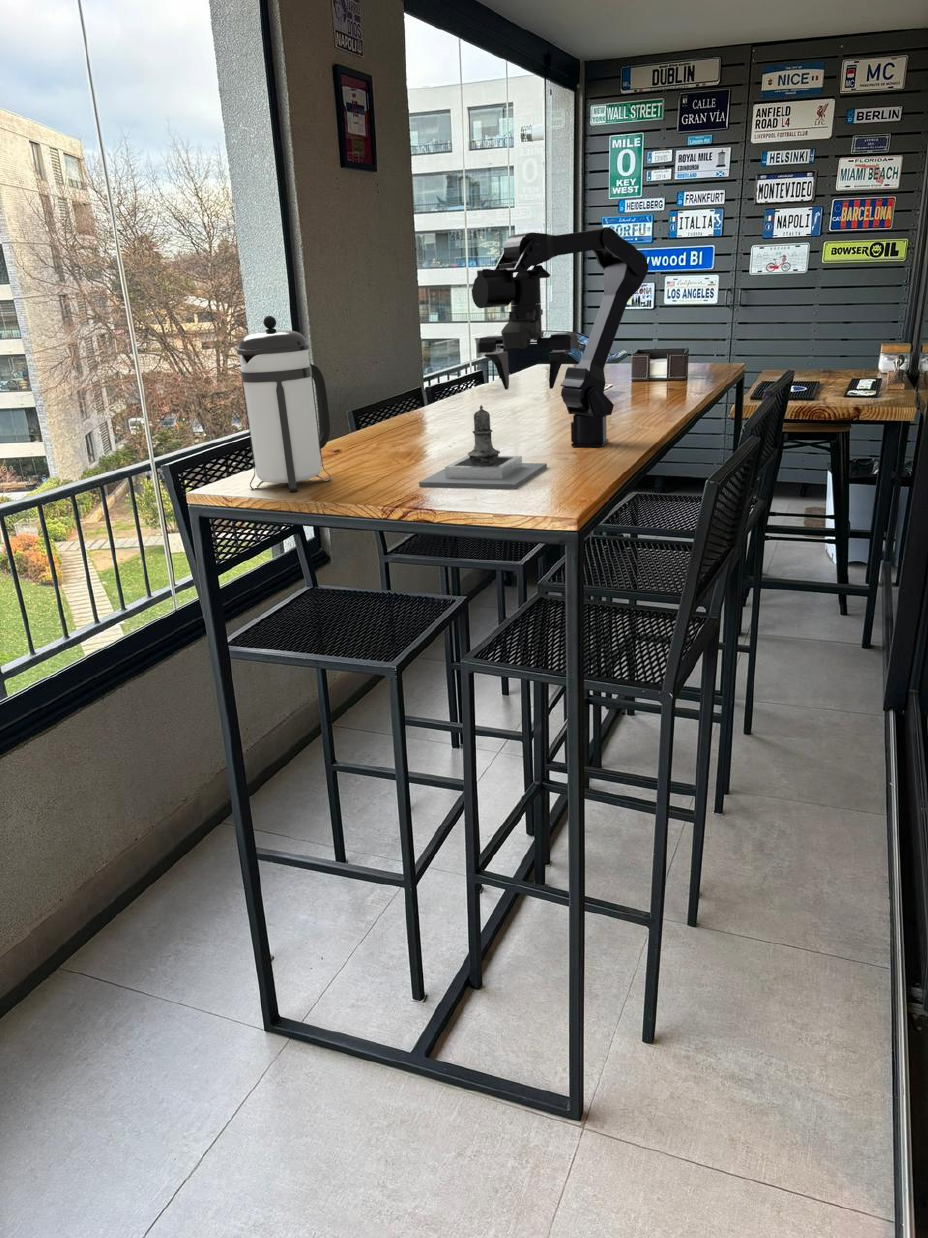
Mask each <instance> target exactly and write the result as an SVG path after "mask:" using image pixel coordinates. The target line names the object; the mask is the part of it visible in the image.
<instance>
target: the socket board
mask: <svg viewBox="0 0 928 1238" xmlns="http://www.w3.org/2000/svg"><path fill="white" fill-rule="evenodd" d="M547 467H548V465H547V463H546V462H545V463H542V462H541V463H540V462H537V463H535V462H522V467H521V468H520V469H518V470H517V471H515V472H513V473H512V474H510V475H509V476H507V477H505V478H504V479H461V478H445V468H444V469H441V470H439V471H438V472H436V473H434V474H432V475H430V476H428V477H426V478H424V479H422V480H420V481H418V486H419V487H421V488H422V487H425V488H427V487H428V488H429V487H431V488H458V489H459V488H464V489H466V488H467V489H495V490H497V489H499V490H500V489H502V490H505V489H506V490H516V489H517V488H519V487H521V486H522V485H524V484H525V483H526V482H528V481H530V480H531V479H532V478H534V477H535V476H537V475H538V474H540V473H541V472H543V471H544V470H546V469H547Z"/></svg>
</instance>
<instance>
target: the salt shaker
mask: <svg viewBox="0 0 928 1238" xmlns="http://www.w3.org/2000/svg"><path fill="white" fill-rule="evenodd" d="M490 415H491V414H490V413H489V411H487V410H485V409H484V407H483V405H482V404H481V405H480V406H479V410H477V411H475V412H474V414H473V429H474V430H472V434H474V437H473V438H474V447H473V449H472V450H471V451H469V452H468V453H467V456H469V457H470V461H471V463H472V464H473V465H474V466H493V465H495V463H496V462H497V460H498V456H499V454H500V453H501V451H500V450H499V449H496V448H494V446H493V442H492V432H493V429H491V416H490Z"/></svg>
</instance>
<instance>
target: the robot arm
mask: <svg viewBox="0 0 928 1238" xmlns="http://www.w3.org/2000/svg"><path fill="white" fill-rule="evenodd" d="M588 251H590V252H591V251H592V253H594V256H595V258H596V259H595V260H596V261H597V264H598V265H599V267H601V268H602V270H604V271H603V276H602V282H603V291H604V295H603V298H602V299H601V303H600V306H599V308H598V309H599V310H598V311H597V315H596V317H595V320H594V322H593V325H592V328H591V330H590V334H589V337H588V340H587V342H586V346H585V348H584V351H583V354H582V357H581V360H580V361H579V363H578V364H577V365H575V367H574V366H568V367H567V368H566V370H565V374H564V378H563V381H562V382H561V383H560V385H559V386H560V387H562V388H561V392H560V396H561V398H562V401H563V403H564V404H565V405H566V406H565V408H566V409H567V412H568V415H572V416H573V417H572V418H573V421H572V422H570V440H571V445H570V446H571V447H581V448H583V447H586V448H587V447H588V448H589V447H595V448H599V447H601V448H602V447H603V446H605V445H606V444H607V443H608V442H609V441H610V440H609V439H608V438H607V416H612V414H613V410H614V403H613V402H612V400H611V399H610V398H608V397H607V395H606V394H605V388H606V377H605V366H606V364H607V361H608V358H609V355H610V353H611V349H612V346H613V344H614V341H615V337H616V335H617V333H618V330H619V327H620V324H621V322H622V318H623V316H624V313H625V311H626V308H627V305H628V302H629V300H630V299H631V298H632V297H633V296H634V295H635V294H636V293H637V292H638V291H639V290H640V288H641V287H642V285H643V283H644V281H645V280H646V277H647V276H648V272H649V268H650V267H649V266H650V265H649V263H648V260H647V258H646V255H645V254H644V253H643V252H641V251H639V249H638V248H636V246H635V245H633V244H632V243H630V242H629V241H627V240H625V239H624V238H623V237H621V236H620V235H619V234H618V233H617V232H616V231H615V229H613V228H612V227H609V226H605V227H595V228H592V229H591V230H585V231H577V232H570V233H564V234H556V235H555V234H549V233H543V232H542V233H541V232H526V233H525V232H524V233H519V234H513V235H510V236H509V237H507V238H506V241H505V243H504V246H503V251H502V253H501V255H500V257H499V259H498V261H497V263H496V264H495V267H494V268H493V269H491V268H481V269H477V270H476V275H477V276H476V277H475V278H474V281H473V283H472V288H471V297H472V301H473V303H474V305H475V306H476V308H478V309H491V308H500V307H501V308H502V307H504V308H505V307H508V306H509V305H510V311H509V314H508V322H507V323H506V324H505V325H504V326H503V328H502V329H501V331H500V332H501V335H488V336H483V337H480V338H479V340H478V341H477V354H484V357H485V358H489V359H490V360H491V361H492V362H493V364H494V366H495V368H496V370H497V372H498V375H499V377H500V380H501V383H502V385H503V388H504V390H507V391H508V390H509V387H510V386H509V385H510V373H509V372H510V371H509V370H510V369H509V355H508V351H504V349H508V350H509V349H529V348H530V349H531V348H535V349H536V348H551V349H552V351H550V352H548V358H549V371H548V372H549V374H548V375H549V377H548V384H549V389H551V390H553V388H554V386H555V384H556V380H557V377H558V374H559V372H560V369H561V366H562V364H563V362H564V359H565V357H566V356H567V354H570V353H572V350H574V349H577V348H579V343H578V340H579V339H578V336H577V334H576V333H575V332H559V333H553V334H550V337H549V336H548V337H544V331H543V329H542V326H543V325H542V316H543V314H544V311H543V309H542V299H541V298H542V297H541V293H542V291H541V290H542V289H541V279H548V278H550V277H551V274H550V273H549V272H548V271H547V270H546V269H545V268H544V267H543V266H542V264H543V263H546V262H548V261H550V260H551V259H554V258H556V257H558V256H563V255H569V254H577V253H581V252H588ZM531 267H532V268H531ZM530 268H531V269H530ZM514 273H516V275H515V276H514ZM531 340H532V341H531Z"/></svg>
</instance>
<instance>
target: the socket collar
mask: <svg viewBox="0 0 928 1238" xmlns="http://www.w3.org/2000/svg"><path fill="white" fill-rule="evenodd" d="M522 463H523V456H522V455H498V460H497V462H496V463H495V465H493V466H474V465H473V464H472V463H471V461H470V457H469V455H465V456H464V457H462V458H460V459H457V460H455V461H454V462H452V463H450V464H448V465H446V466H444V469H445V478H461V479H504V478H505V477H507V476H509V475H510V474H512V473H513V472H515V471H517V470H518V469H520V468H521V467H522Z"/></svg>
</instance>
